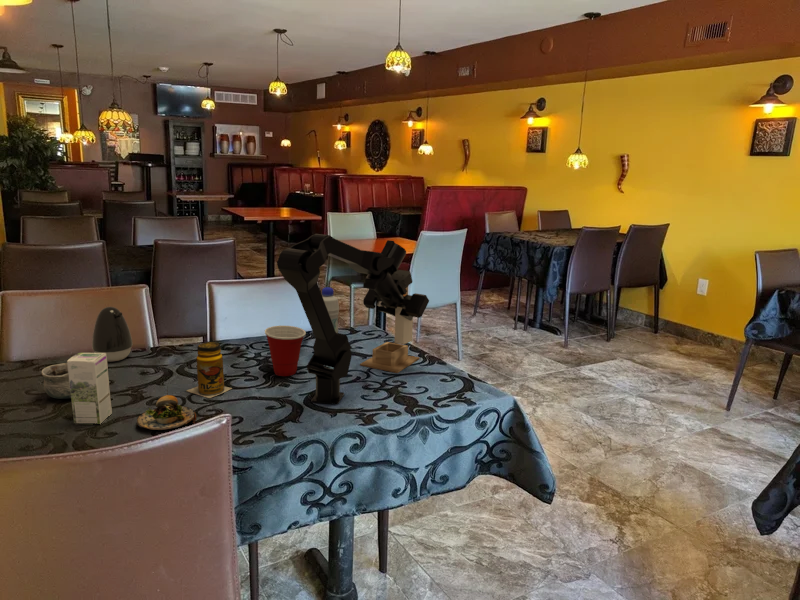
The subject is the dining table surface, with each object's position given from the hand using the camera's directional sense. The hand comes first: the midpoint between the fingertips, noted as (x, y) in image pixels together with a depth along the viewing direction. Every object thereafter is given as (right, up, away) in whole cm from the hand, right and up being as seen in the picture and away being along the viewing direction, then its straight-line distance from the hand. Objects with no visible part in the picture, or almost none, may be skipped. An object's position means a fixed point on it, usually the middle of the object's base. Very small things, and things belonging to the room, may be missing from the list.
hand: (406, 318), depth 162 cm
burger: (-52, -22, -39) cm, 68 cm away
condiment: (-49, -17, -20) cm, 56 cm away
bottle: (-24, -11, +11) cm, 28 cm away
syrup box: (-68, -21, -38) cm, 81 cm away
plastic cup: (-33, -15, -7) cm, 37 cm away
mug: (-79, -18, -26) cm, 85 cm away
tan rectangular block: (-1, -7, 0) cm, 7 cm away
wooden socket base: (-5, -13, +4) cm, 14 cm away
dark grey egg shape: (-83, -12, +1) cm, 84 cm away
